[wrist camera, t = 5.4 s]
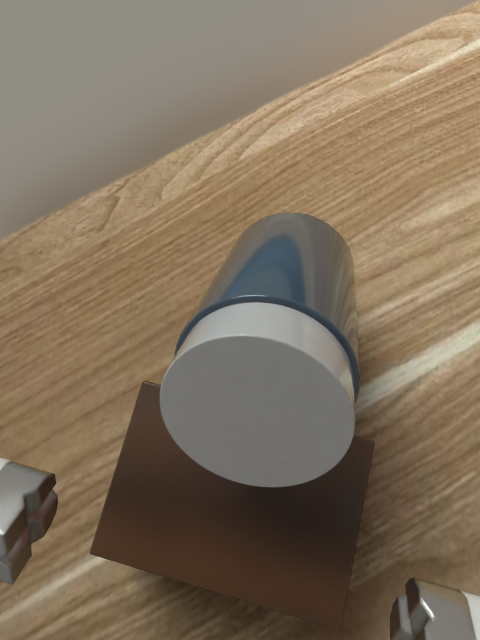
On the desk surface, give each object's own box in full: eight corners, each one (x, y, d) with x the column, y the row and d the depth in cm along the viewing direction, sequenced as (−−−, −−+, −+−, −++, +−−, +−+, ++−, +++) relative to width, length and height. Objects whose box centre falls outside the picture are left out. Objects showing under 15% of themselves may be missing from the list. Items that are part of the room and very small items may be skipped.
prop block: (164, 390, 24) (142, 380, 19) (349, 439, 23) (375, 441, 18) (124, 527, 22) (88, 554, 17) (321, 585, 21) (341, 630, 16)
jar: (241, 239, 26) (232, 77, 14) (350, 263, 25) (436, 117, 13) (182, 449, 23) (109, 466, 11) (304, 482, 22) (361, 537, 11)
